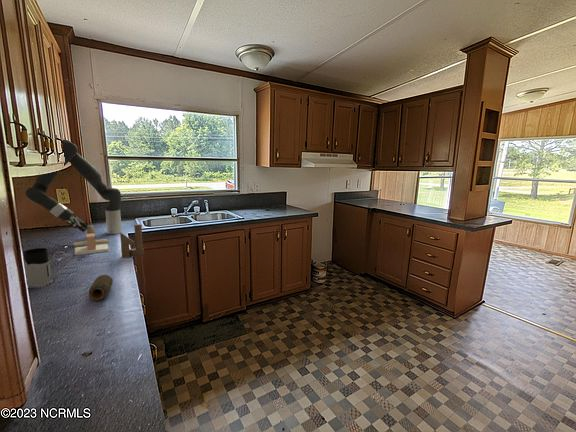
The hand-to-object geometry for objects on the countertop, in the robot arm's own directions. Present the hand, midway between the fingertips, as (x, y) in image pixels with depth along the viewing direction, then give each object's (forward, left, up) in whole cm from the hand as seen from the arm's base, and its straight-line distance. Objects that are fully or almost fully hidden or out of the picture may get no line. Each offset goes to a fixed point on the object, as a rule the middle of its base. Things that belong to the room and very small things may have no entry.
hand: (86, 229), depth 174 cm
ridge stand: (+17, +2, -9) cm, 20 cm away
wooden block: (+38, +21, -10) cm, 45 cm away
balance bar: (0, +2, -10) cm, 10 cm away
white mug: (+61, -14, -10) cm, 64 cm away
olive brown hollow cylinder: (+84, +5, -10) cm, 85 cm away
